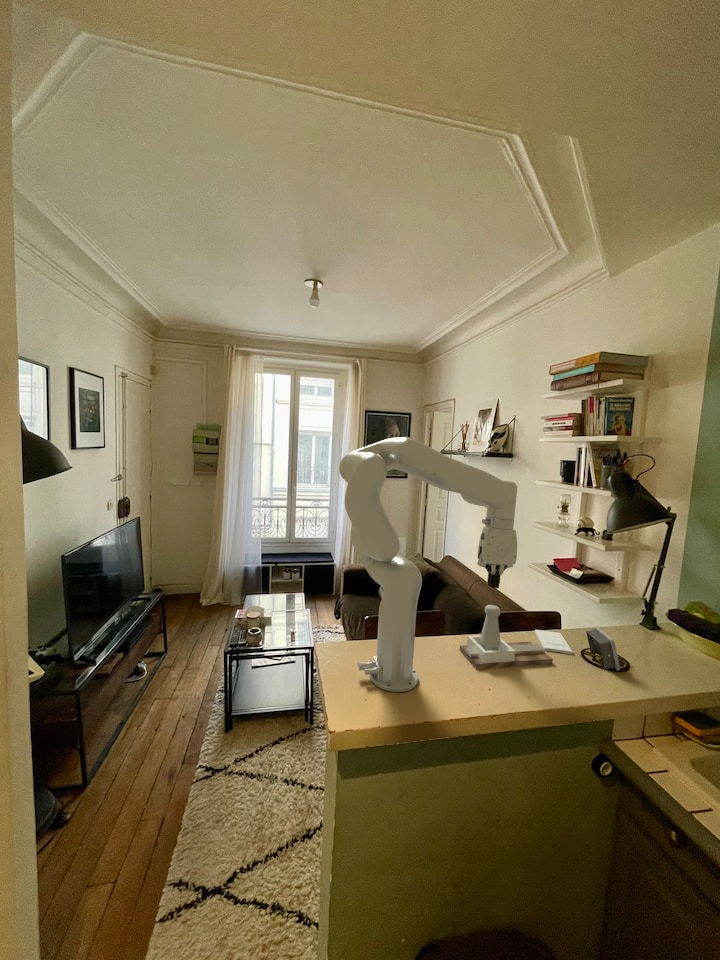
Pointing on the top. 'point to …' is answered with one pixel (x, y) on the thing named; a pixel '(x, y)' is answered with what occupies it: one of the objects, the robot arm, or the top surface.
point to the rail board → (519, 661)
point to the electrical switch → (603, 647)
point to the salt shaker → (491, 629)
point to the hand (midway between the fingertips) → (493, 586)
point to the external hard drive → (553, 642)
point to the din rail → (518, 649)
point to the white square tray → (491, 651)
